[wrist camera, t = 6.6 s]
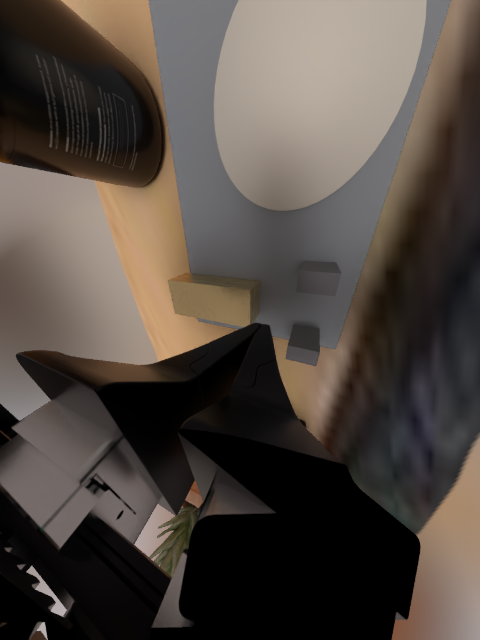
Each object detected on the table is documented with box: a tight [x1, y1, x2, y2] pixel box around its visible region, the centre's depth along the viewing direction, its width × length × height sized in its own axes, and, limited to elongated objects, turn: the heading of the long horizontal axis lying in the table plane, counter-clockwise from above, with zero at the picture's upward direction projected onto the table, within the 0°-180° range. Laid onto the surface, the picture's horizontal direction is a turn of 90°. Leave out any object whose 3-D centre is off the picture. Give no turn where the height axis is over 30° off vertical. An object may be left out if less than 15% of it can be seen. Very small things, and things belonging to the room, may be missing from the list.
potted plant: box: [149, 481, 203, 577], centre depth 30 cm, size 10×10×25 cm
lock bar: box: [168, 273, 260, 327], centre depth 14 cm, size 3×7×2 cm, turn 92°
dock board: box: [149, 0, 451, 366], centre depth 10 cm, size 19×13×4 cm
